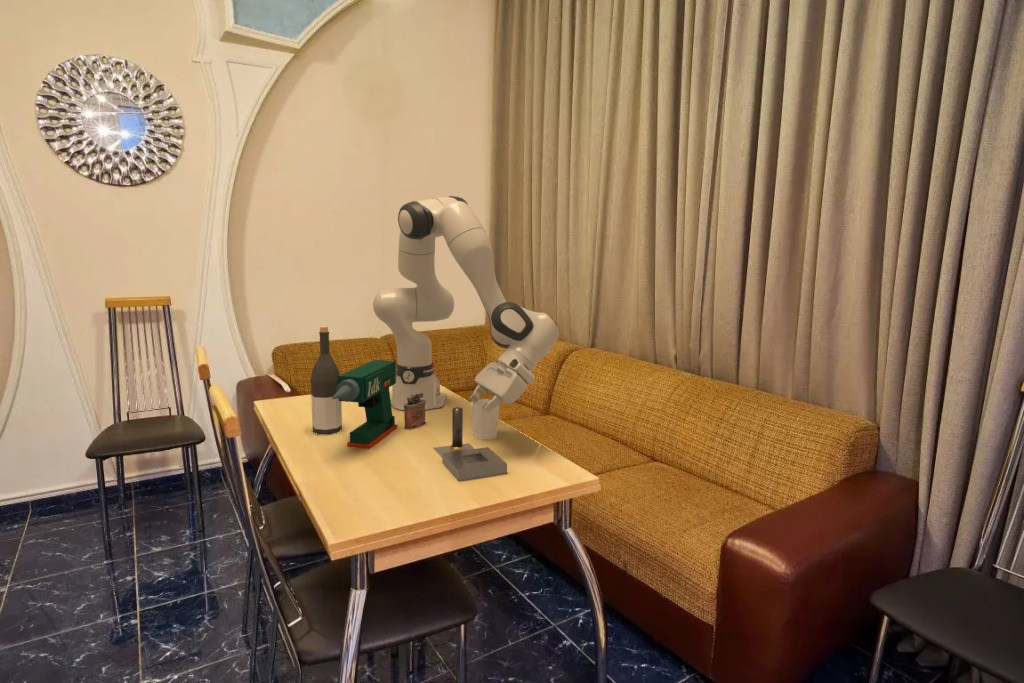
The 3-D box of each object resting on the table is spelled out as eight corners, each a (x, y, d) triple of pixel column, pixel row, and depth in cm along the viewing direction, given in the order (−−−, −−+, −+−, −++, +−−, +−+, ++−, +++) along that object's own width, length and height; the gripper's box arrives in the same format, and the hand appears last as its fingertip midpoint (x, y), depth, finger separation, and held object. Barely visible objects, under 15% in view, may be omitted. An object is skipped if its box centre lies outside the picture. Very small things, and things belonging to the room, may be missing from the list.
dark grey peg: (452, 448, 155) (452, 406, 153) (465, 449, 154) (466, 407, 152) (448, 453, 151) (448, 409, 150) (462, 454, 151) (462, 410, 149)
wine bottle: (325, 437, 164) (321, 329, 159) (306, 431, 168) (302, 326, 163) (348, 429, 170) (345, 326, 165) (329, 424, 175) (326, 323, 170)
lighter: (410, 431, 169) (409, 398, 168) (401, 429, 171) (400, 396, 170) (428, 425, 176) (428, 392, 174) (419, 423, 178) (419, 390, 176)
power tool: (347, 468, 142) (345, 386, 139) (320, 465, 143) (317, 384, 140) (399, 428, 173) (398, 360, 169) (376, 426, 174) (375, 359, 171)
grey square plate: (433, 449, 155) (433, 447, 155) (468, 444, 159) (468, 443, 159) (444, 462, 146) (444, 460, 146) (482, 457, 150) (482, 455, 150)
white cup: (499, 433, 170) (499, 399, 168) (498, 442, 162) (499, 407, 160) (471, 432, 170) (472, 399, 168) (469, 442, 162) (470, 406, 160)
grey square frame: (442, 464, 145) (442, 453, 144) (487, 458, 150) (488, 447, 149) (458, 483, 134) (458, 470, 134) (506, 475, 139) (507, 463, 139)
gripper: (490, 351, 164) (457, 388, 161) (522, 365, 145) (485, 408, 143) (505, 366, 166) (472, 403, 164) (538, 382, 148) (501, 423, 145)
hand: (478, 405), depth 153 cm, fingers open, 8 cm apart
